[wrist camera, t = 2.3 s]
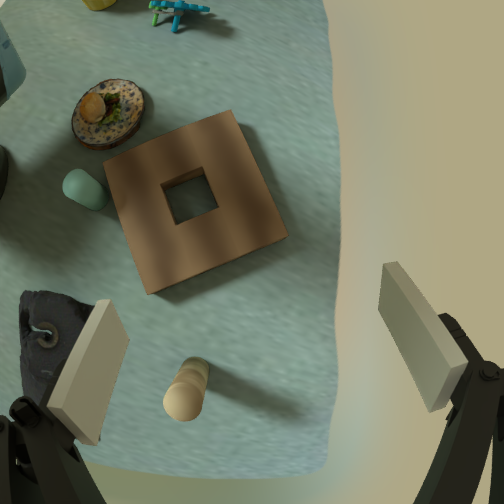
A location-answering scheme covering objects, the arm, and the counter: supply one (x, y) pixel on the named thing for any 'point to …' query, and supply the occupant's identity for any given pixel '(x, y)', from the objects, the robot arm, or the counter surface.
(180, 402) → the long maple pin
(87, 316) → the dark slate chunk
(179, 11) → the gear
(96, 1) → the plant pot
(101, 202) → the short teal pin
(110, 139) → the burger
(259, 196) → the walnut hole board
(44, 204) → the counter surface
